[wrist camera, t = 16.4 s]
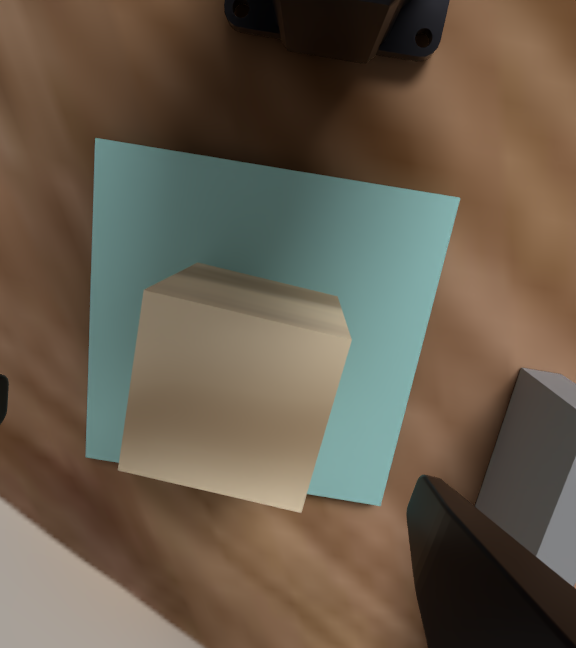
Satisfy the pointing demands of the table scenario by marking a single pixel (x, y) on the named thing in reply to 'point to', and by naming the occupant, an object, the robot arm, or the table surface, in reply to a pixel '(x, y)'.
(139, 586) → the table surface
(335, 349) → the wooden block
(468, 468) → the table surface
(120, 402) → the mat
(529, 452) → the grey u-shaped frame
